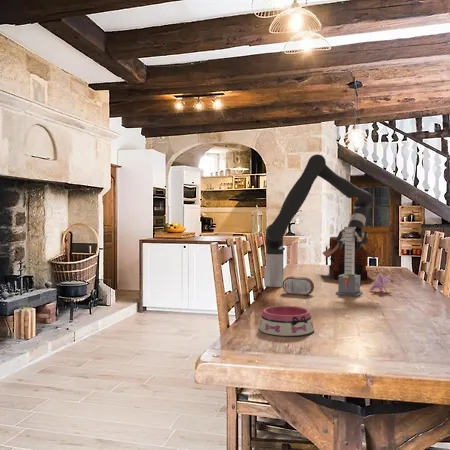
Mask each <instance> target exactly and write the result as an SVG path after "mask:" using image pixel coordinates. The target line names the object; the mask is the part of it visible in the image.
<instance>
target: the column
mask: <svg viewBox="0 0 450 450" xmlns="http://www.w3.org/2000/svg"><path fill="white" fill-rule="evenodd" d="M343 229H345V274H344V275H347V276H354V275H355V273H354V261H355V229H356V227H348V226H344V227H343Z"/></svg>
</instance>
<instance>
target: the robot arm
mask: <svg viewBox="0 0 450 450" xmlns="http://www.w3.org/2000/svg"><path fill="white" fill-rule="evenodd" d="M318 177H320V178H321V179H323V180H324V181H326V182H327V183H329V185H331V186H333V187H334V188H335V189H336V190H337V191H339V192H340V193H341V194H343V196H345V198H348V199H352V198H354V197H355V198H357V199H355V201H354V204H353V212H352V215H351V217H350V220H349V221H348V225H347V227H356V229H355V241H356V240H357V241H358V244H357V250H359V249H361V246H362V247H363V245H367V242H368V237H369V233H368V232H367V231H365V232H363V231H364V229H365V227H366V219H367V217H368V208H369V207H370V206H371V205H372V204H373V203H374V196H373V195H372V194H371V193H370V192H368V191H367V190H364V189H362V188H360V187H357V186H356V185H354V183H352V182H351V181H349V179H346V178H345V177H343V176H342V175H339V174H338V173H336V172H335V171H334V170H332V169H331V168H330V167H329V166H328V165H327V161H326V157H324V156H323V155H322V154H319V153H318V154H317V153H316V154H313V155H311V157H309V159H308V161H307V163H306V166H305V168H304V170H303V172H302V173H301V175H300V176H299V178H298V179H297V180H296V182H295V183H294V184H293V185H292V187H291V189H290V191H289V192H288V194H287V196H286V197H285V199H284V201H283V203H282V206H281V208H280V211H279V213H278V215H277V216H276V217H275V219H274V221H273V222H272V223H270V224H269V225H268V226H267V227H266V229H265V253H266V254H265V267H264V269H263V270H264V271H263V272H264V273H263V275H264V281H263V283H264V284H263V285H264V286H265V287H268V288H281V287H282V288H283V281H284V250H285V249H284V237H285V233H287V229H288V228H289V225H290V224H291V221H292V220H293V218H294V217H295V216H296V214H297V213H298V212H299V211H300V209H301V207H302V205H303V204H304V203H305V201H306V200H307V198H308V195H309V193H310V191H311V189H312V186H313V184H314V182H315V181H316V179H317V178H318ZM336 237H337V242H338V243H339V245H338V246H339V248H340V249H342V247H343V243H345V232H342V230H340V231H339V232H338V234H337V236H336ZM342 237H343V238H342ZM362 237H363V238H362ZM361 238H362V239H361Z"/></svg>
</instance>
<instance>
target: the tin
mask: <svg viewBox="0 0 450 450" xmlns="http://www.w3.org/2000/svg"><path fill="white" fill-rule="evenodd" d="M282 289H283V291H284V292H285V293H286V294H289V295H295V296H296V295H297V296H309V295H311V294H312V293H313V291H314V289H315V285H314V282H313V280H312V279H310V278H309V277H304V276H288V277H286V278H285V279H283V286H282Z"/></svg>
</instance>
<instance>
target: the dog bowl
mask: <svg viewBox="0 0 450 450" xmlns="http://www.w3.org/2000/svg"><path fill="white" fill-rule="evenodd" d="M257 328H258V329H257V330H258V331H259V332H260V333H261V334H265V335H267V336H272V337H280V338H300V337H308V336H310V335H313V334H314V333H315V328H314V324H313V319H312V315H311V312H310V310H309V309H307V308H305V307H300V306H295V305H294V306H292V305H277V306H276V305H275V306H274V305H273V306H269V307H266V308H263V310H262V314H261V317H260V321H259V325H258V327H257Z"/></svg>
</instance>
